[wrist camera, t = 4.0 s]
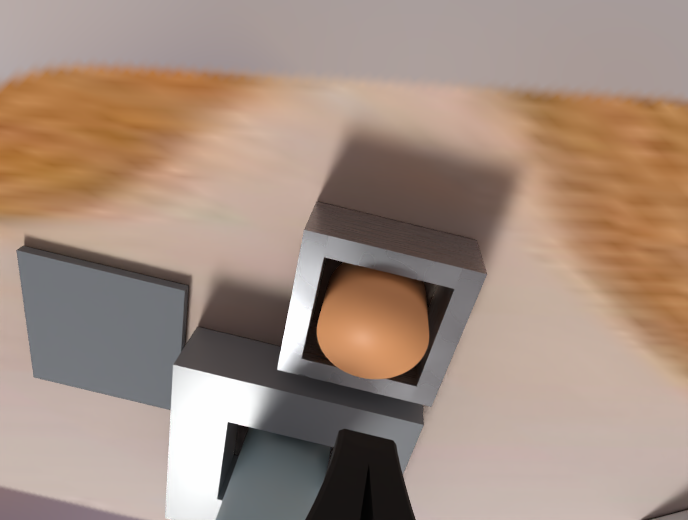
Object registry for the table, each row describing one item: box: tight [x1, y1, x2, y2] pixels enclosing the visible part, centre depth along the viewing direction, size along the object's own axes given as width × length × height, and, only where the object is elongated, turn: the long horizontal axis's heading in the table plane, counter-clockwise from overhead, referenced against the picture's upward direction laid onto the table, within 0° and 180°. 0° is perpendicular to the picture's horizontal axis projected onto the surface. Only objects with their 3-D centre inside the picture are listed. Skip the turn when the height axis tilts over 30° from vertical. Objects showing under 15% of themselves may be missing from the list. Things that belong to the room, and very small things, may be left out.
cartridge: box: [216, 427, 331, 520], centre depth 20 cm, size 4×4×8 cm
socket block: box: [165, 327, 424, 520], centre depth 22 cm, size 10×10×2 cm
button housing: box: [277, 202, 487, 407], centre depth 18 cm, size 6×6×2 cm
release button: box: [317, 262, 429, 379], centre depth 17 cm, size 4×4×2 cm
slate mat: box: [17, 246, 189, 410], centre depth 21 cm, size 7×7×1 cm
